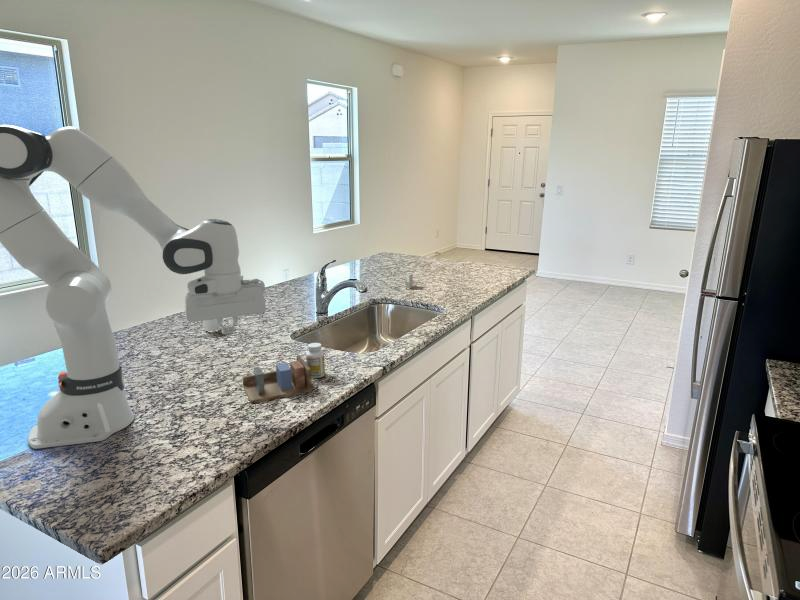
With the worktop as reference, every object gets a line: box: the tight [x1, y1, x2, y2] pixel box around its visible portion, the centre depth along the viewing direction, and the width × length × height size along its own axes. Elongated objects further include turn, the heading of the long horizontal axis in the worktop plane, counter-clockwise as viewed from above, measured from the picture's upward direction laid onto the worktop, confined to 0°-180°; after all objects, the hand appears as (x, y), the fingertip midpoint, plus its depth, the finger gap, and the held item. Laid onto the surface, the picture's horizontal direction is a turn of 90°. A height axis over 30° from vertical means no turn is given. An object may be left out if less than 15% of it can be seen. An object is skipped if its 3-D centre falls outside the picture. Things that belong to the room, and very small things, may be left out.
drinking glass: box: [202, 319, 221, 332], centre depth 202 cm, size 7×7×10 cm
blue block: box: [275, 362, 292, 391], centre depth 152 cm, size 3×6×6 cm, turn 26°
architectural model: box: [402, 273, 414, 289], centre depth 265 cm, size 3×7×7 cm, turn 163°
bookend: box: [253, 366, 265, 395], centre depth 149 cm, size 2×6×6 cm, turn 26°
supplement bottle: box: [305, 342, 326, 379], centre depth 162 cm, size 5×5×10 cm
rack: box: [241, 355, 313, 404], centre depth 152 cm, size 17×12×7 cm
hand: (228, 332), depth 142 cm, fingers closed
